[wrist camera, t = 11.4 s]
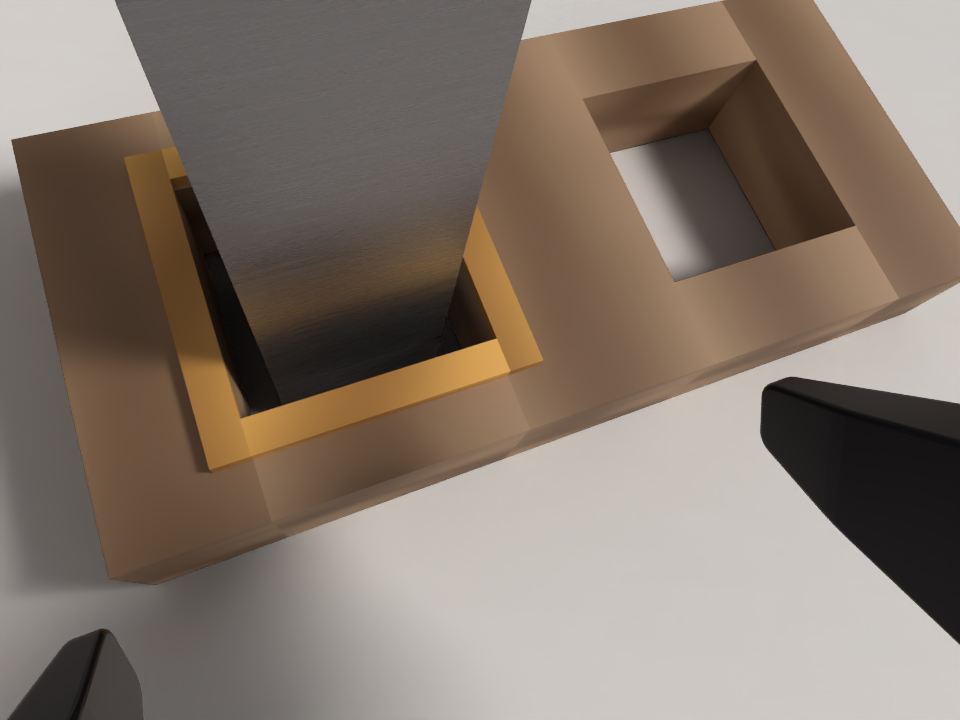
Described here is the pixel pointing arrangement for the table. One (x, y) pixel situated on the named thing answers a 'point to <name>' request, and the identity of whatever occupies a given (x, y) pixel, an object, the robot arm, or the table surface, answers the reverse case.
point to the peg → (334, 162)
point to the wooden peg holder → (482, 282)
